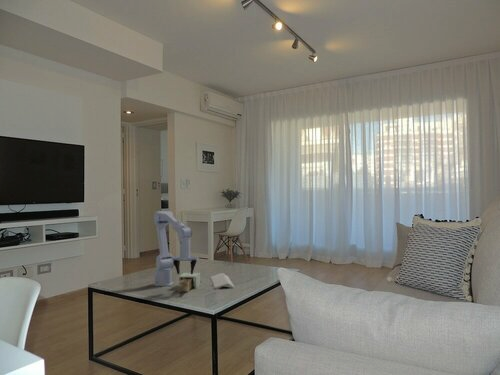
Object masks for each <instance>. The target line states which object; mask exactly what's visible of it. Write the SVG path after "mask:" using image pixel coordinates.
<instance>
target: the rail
mask: <svg viewBox="0 0 500 375" xmlns="http://www.w3.org/2000/svg"><path fill="white" fill-rule="evenodd" d="M185 294H187V292H182V291H179V293H178V294H177V295H176V296H175V298H182V297H183V296H185Z"/></svg>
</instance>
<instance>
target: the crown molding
mask: <svg viewBox="0 0 500 375" xmlns="http://www.w3.org/2000/svg"><path fill="white" fill-rule="evenodd" d="M209 279H210V282H211V284H212V287H213V290H219V289H220V288H222V287H226V288H230V289H231V288H232V289H235V288H236V287H235V285H234V284H233V281H231V278H230V277H229V276H228V275H226V274H225V273H224V272H221V273H218V274H217V273H216V274H215V275H212V276H210V277H209Z"/></svg>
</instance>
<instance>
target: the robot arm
mask: <svg viewBox="0 0 500 375" xmlns="http://www.w3.org/2000/svg"><path fill="white" fill-rule="evenodd" d="M153 224H154V226H156V228H155V229H156V234H157V242H158V249H159V254H158V255H157V256H156V258H155V267H156V269H155V271H154V287H160V286H161V287H169V286H171V285H173V284H174V281H172V278H173V277H172V276H173V275H172V270H174V269H173V268H174V267H175V270H176V273H177V275H181V274H180V272H181V271H180V269H181V268H180V267H181V266H180V263H181V261H182V262H184V261H185V262H190V273H191V274H193V273H194V269H195V267H196V264H197V262H198V261H199V257H198V256H191V238H192V236H193V231H192V228H191V227H190V226H185V224H183V222H182V221H181V220H177V219H176V218H175V217H174V214H173V212H172V211H171V210H156V211H154V213H153ZM169 224H170V225H171V226H172V229H173V230H174V232H175V233H177V237H178V242H179V256H174V255H173V254H172V253H170V252H169V245H168V238H167V232H166V231H167V230H166V227H167V225H169Z"/></svg>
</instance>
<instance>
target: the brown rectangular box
mask: <svg viewBox="0 0 500 375" xmlns="http://www.w3.org/2000/svg"><path fill="white" fill-rule="evenodd" d="M193 287H194V278H184V279H182V280H181V281H180V282H179V281H178V291H179V292H181V291H182V292H186V293H187V292H189V291H190V290H191V289H192V288H193Z"/></svg>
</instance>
